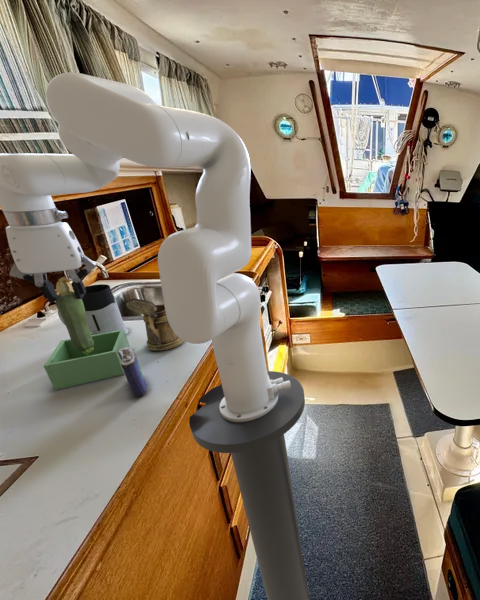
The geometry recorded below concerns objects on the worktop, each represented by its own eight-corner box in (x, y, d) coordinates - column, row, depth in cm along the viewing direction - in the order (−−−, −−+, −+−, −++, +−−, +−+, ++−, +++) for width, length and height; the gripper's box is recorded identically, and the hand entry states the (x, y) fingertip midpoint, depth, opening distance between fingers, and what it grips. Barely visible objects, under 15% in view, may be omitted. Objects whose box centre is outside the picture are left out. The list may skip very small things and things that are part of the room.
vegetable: (73, 354, 79) (39, 277, 71) (93, 346, 83) (63, 272, 75) (85, 358, 78) (53, 280, 70) (105, 349, 81) (76, 274, 74)
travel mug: (135, 329, 100) (120, 284, 94) (89, 354, 88) (68, 304, 81) (111, 326, 101) (94, 282, 95) (61, 351, 89) (38, 301, 82)
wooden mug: (133, 362, 85) (111, 300, 77) (155, 337, 97) (138, 281, 89) (171, 358, 87) (153, 297, 80) (189, 334, 99) (174, 279, 92)
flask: (128, 380, 78) (114, 342, 74) (143, 375, 80) (130, 338, 76) (134, 400, 72) (118, 360, 68) (150, 394, 74) (136, 354, 70)
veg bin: (131, 349, 90) (124, 329, 87) (124, 374, 80) (115, 351, 78) (71, 362, 84) (61, 340, 81) (55, 390, 74) (43, 366, 72)
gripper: (91, 213, 74) (116, 287, 81) (-17, 218, 66) (23, 299, 73) (82, 219, 68) (111, 298, 75) (-37, 224, 60) (8, 312, 67)
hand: (67, 298), depth 74 cm, fingers closed on vegetable, 4 cm apart
